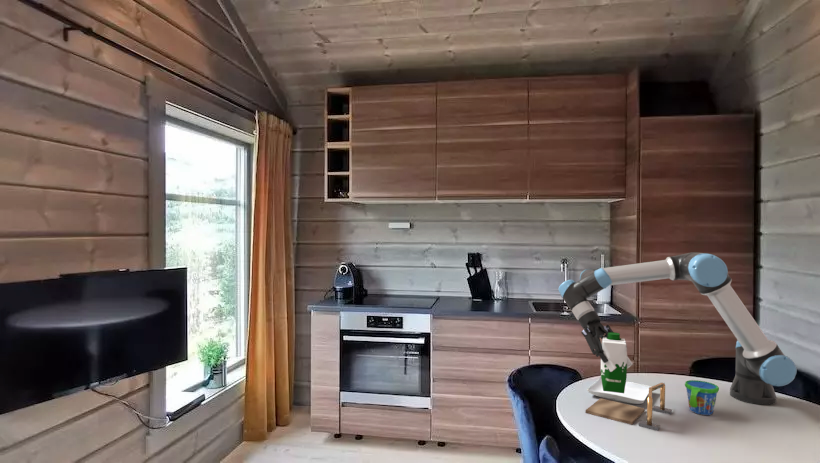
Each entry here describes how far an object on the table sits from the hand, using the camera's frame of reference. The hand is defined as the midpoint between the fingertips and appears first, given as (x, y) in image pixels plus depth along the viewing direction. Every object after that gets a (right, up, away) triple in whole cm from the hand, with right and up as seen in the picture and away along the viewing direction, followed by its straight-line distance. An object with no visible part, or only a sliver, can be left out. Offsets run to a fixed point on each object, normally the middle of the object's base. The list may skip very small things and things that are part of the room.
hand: (621, 367), depth 177 cm
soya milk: (-2, -9, +3) cm, 9 cm away
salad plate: (+9, -17, +21) cm, 29 cm away
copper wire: (+11, -17, -3) cm, 20 cm away
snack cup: (+31, -17, +4) cm, 36 cm away
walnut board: (-1, -17, +3) cm, 17 cm away
